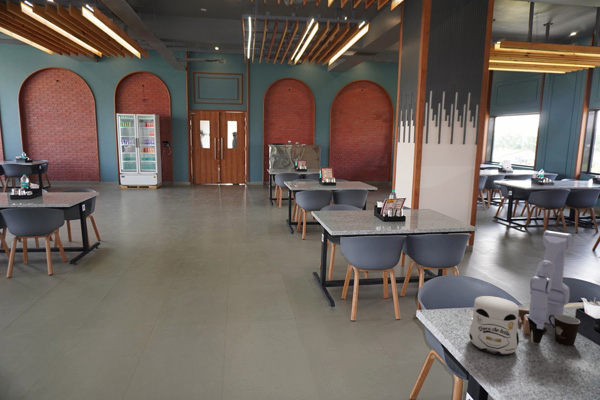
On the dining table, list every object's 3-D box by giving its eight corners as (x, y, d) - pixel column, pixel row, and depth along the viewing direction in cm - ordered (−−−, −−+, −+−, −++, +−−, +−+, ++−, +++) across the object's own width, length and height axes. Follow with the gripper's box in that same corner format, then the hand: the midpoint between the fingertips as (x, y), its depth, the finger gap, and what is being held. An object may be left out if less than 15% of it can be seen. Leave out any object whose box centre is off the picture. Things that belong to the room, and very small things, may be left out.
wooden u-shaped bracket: (516, 319, 177) (517, 308, 177) (536, 322, 174) (537, 312, 174) (519, 327, 169) (520, 316, 169) (539, 330, 166) (541, 319, 166)
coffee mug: (581, 349, 152) (584, 324, 150) (557, 346, 153) (560, 322, 152) (567, 335, 163) (570, 312, 162) (545, 332, 165) (547, 310, 163)
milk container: (486, 360, 142) (490, 313, 139) (459, 337, 159) (463, 295, 156) (528, 357, 144) (533, 311, 142) (497, 335, 161) (501, 294, 159)
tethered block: (522, 328, 168) (524, 315, 168) (536, 330, 166) (537, 317, 166) (527, 342, 156) (529, 328, 155) (542, 345, 154) (543, 331, 153)
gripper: (524, 298, 162) (521, 328, 164) (529, 311, 149) (526, 344, 151) (543, 301, 159) (540, 332, 161) (551, 314, 146) (547, 348, 148)
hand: (534, 338), depth 156 cm, fingers open, 7 cm apart
